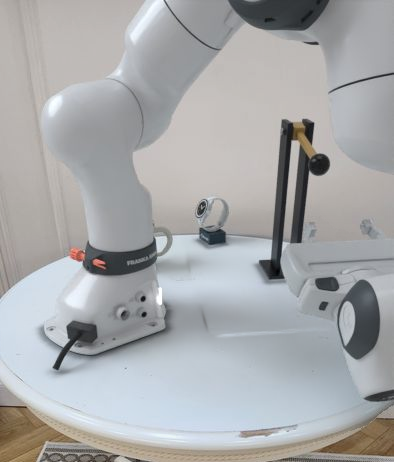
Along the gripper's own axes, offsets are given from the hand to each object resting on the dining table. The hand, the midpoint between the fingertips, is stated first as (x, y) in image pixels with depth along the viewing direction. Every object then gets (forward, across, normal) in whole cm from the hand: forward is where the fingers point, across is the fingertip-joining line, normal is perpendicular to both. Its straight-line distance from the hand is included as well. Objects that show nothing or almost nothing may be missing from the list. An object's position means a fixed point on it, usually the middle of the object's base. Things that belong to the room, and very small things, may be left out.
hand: (337, 223), depth 84 cm
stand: (+12, 0, +29) cm, 31 cm away
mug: (+19, +29, +33) cm, 48 cm away
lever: (+19, 0, +4) cm, 19 cm away
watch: (+29, +12, +39) cm, 50 cm away
